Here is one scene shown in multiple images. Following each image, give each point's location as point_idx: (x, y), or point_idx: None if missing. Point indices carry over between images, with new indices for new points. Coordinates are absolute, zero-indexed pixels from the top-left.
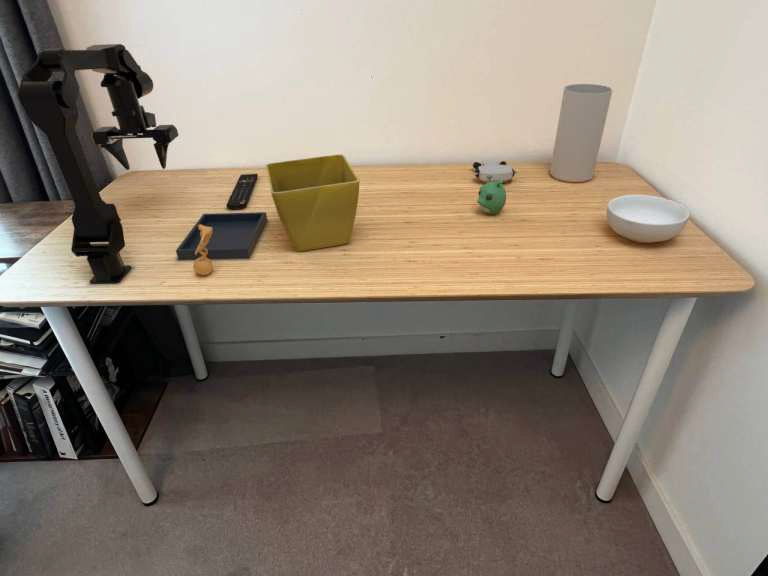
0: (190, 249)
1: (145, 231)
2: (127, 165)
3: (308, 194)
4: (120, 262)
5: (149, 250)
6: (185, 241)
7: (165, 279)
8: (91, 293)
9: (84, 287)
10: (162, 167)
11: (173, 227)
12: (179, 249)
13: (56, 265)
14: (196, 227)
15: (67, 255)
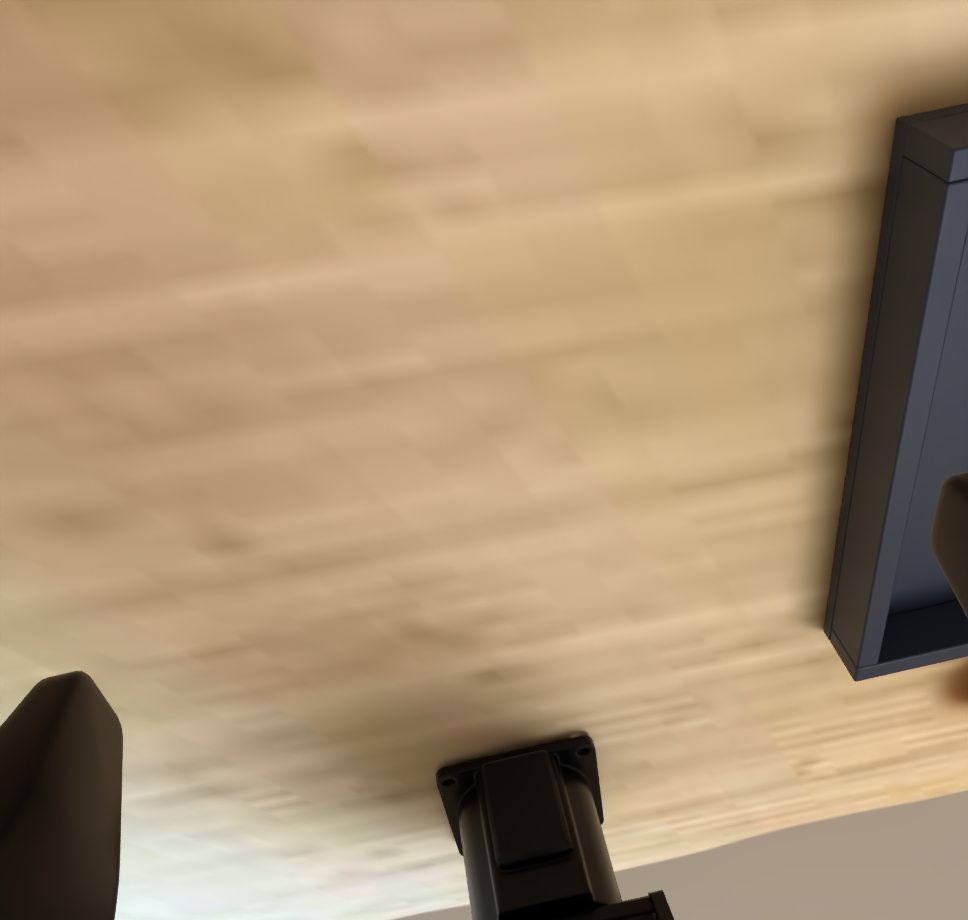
0: (943, 654)
1: (371, 383)
2: (93, 795)
3: None
4: (602, 835)
5: (587, 591)
6: (890, 596)
7: (808, 748)
8: None
9: (452, 859)
10: (958, 582)
11: (600, 270)
12: (875, 669)
13: None
14: (928, 415)
15: None
